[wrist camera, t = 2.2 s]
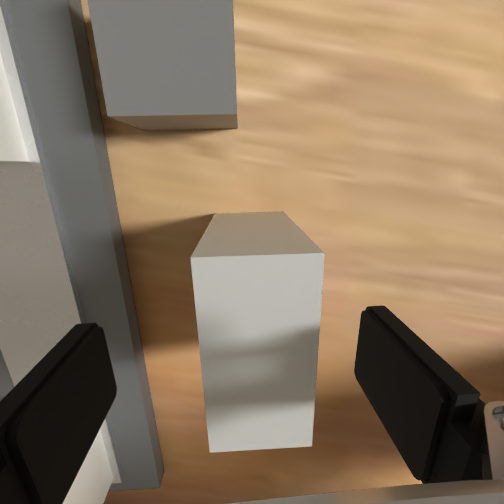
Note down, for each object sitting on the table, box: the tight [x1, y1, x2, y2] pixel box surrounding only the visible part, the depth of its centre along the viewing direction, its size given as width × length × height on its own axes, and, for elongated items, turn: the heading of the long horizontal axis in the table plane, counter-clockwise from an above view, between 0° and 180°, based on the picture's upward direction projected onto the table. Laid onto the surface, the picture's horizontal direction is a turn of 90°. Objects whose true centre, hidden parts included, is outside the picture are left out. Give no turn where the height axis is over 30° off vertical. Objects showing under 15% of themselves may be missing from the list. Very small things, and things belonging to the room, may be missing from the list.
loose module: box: [190, 211, 325, 453], centre depth 13 cm, size 4×8×8 cm, turn 1°
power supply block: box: [88, 0, 238, 130], centre depth 11 cm, size 5×5×4 cm
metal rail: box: [0, 0, 124, 483], centre depth 15 cm, size 5×31×1 cm, turn 1°
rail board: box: [0, 0, 164, 491], centre depth 16 cm, size 10×34×1 cm, turn 1°
